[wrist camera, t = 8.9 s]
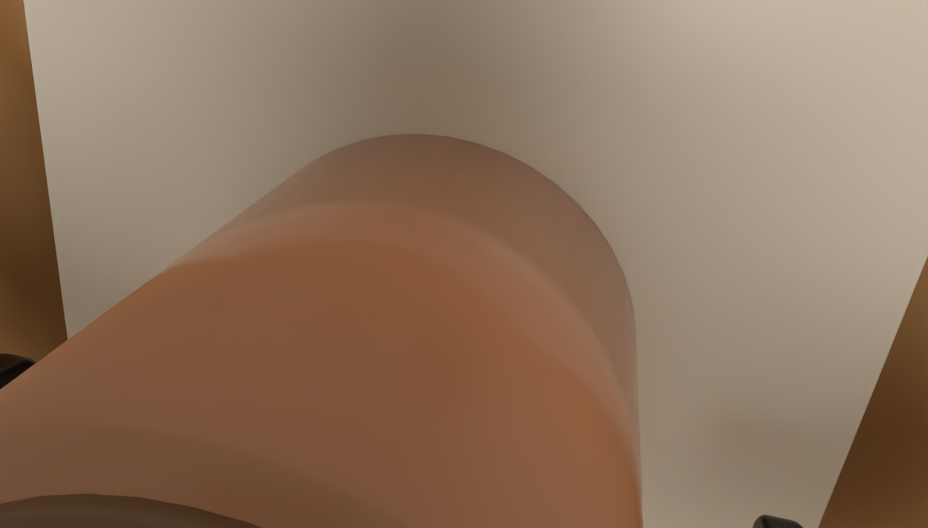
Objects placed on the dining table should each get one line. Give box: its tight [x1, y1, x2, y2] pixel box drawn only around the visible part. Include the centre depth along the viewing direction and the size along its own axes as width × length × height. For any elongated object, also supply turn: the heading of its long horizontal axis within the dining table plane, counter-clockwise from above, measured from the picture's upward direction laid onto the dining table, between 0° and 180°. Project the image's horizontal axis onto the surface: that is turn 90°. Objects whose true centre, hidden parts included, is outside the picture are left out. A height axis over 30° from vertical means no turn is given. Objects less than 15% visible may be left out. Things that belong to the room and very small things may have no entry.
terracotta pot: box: [0, 134, 643, 528], centre depth 9 cm, size 6×6×7 cm
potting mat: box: [24, 0, 928, 528], centre depth 12 cm, size 13×13×1 cm
